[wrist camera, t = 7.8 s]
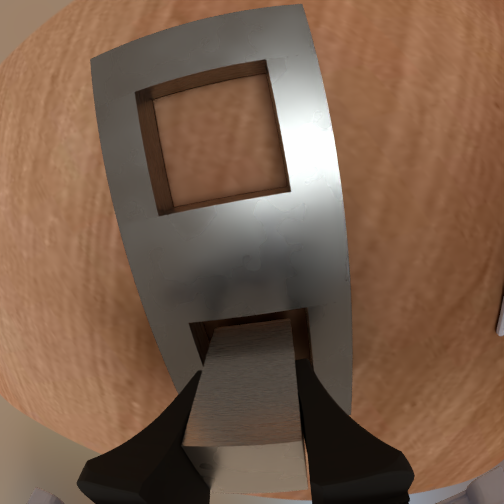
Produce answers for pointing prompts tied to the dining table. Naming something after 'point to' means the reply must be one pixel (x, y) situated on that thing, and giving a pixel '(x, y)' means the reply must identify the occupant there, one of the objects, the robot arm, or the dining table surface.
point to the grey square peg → (248, 412)
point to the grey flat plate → (234, 207)
